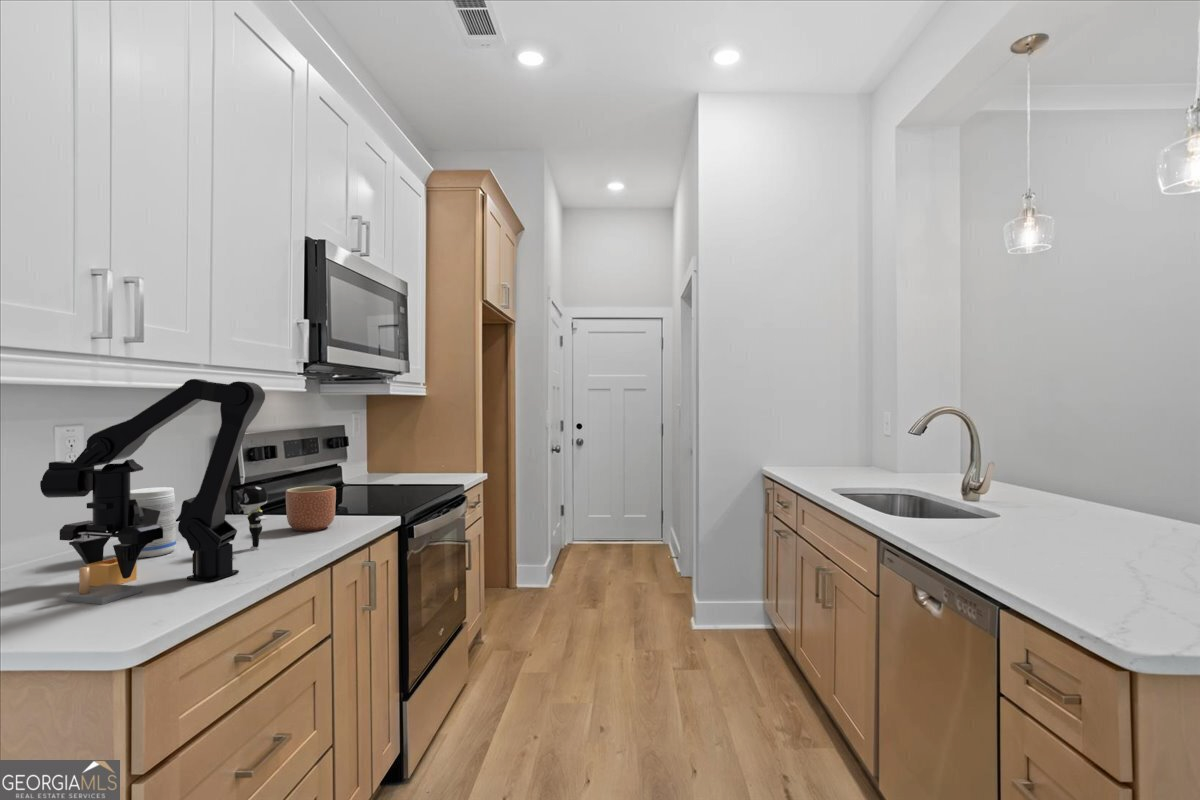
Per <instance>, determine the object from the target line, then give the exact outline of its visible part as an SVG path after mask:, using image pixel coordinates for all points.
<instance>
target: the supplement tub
mask: <svg viewBox="0 0 1200 800" xmlns="http://www.w3.org/2000/svg"><path fill="white" fill-rule="evenodd" d="M130 499H136V501H137V505H138V507H142V508H148V509H153V510H158V511H161V512H160V515H159V518H158V521H157V524H159V525H160V526H161V527H163V538H162V539H157V540H154V541H153V542H152V543H148V544H147V545H146V546H145V547H144V548H143V549H142V550H141V552H140V554H139V556H138V559H143V558H153V557H160V556H163V555H168V554H170V553H172V552H174V551H175V550H176V548H177V531H176V530H177V529H176V525H177V524H176V496H175V489H174V487H169V486H161V487H159V486H158V487H147V488H145V487H144V488H138V489H130ZM130 527H131V526H130Z"/></svg>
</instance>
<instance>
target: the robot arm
mask: <svg viewBox="0 0 1200 800" xmlns="http://www.w3.org/2000/svg"><path fill="white" fill-rule="evenodd" d="M265 400H266V392H265V391H264V389H263V388H262V386H261V385H259V384H258V383H255V382H250V381H239V380H238V381H233V382H231V383H228V384H227V383H222V382H214V381H208V380H206V379H201V378H200V379H199V378H191V379H188V380H186V381H185V382H184V383H183V384H182V385H180V387H178V388H177V389H175V390H173V391H171V392H170V393H169V394H167V395H166V396H164V397H163V398H161V399H160V400H157V402H155V403H153V404H152V405H150V406H149V407H147V408H145V409H144V410H142V411H141V412H140V413H138V414H136V415H135V416H133V417H132V418H130V419H127V420H124V421H122V422H120V423H119V422H118V423H116V424H114V425H112V426H109V427H106V428H104V429H102V430H99V431H97V432H95V433H93V434H91V435H90V436H89V437H88V438H87V439H86V445H85V446H86V447H85V448H84V450H83V451H82V452H81V453H80V454H79V455H78V456H77V457H76V459H75V460H74V461H71V462H70V461H63V460H61V461H59V460H58V461H51V462H50V461H49V462H48V469H46V471H45V472H44V473H43V475H42V478H41V480H40V483H39V484H40V487H39V488H40V491H41V493H42V495H43V496H44V497H46V498H49V499H50V498H78V497H79V498H80V497H81V498H82V497H86V496H87V495H89V493H90V492H92V501H91V502H86V509H92V520H84V521H79V522H73V523H67V524H66V523H65V524H64V525H63V526H62V527H61V528H60V529H59V541H67V542H68V544H69V546H72V548H73V549H74V550H75V551H76V552H77V554H78V555H79V556H80V557H81V559H82V561H83V562H84V564H85V565H86V564H90V563H94V562H98V561H102V560H104V552H105V551H104V548H105V545H106V544H107V543H108V542H109V541H110V539H111V538H117V541H118V542H119V544H114V545H112V547H113V550H114V554H115V557H116V558H117V561H118V565H119V568H120V572H121V574H122V577H123V578H124V579H126V578H129V577H130V576H131V573H132V571H133V568H134V566H135V563H136V561H137V560H138V559H139V558H138V556H139V554H140V552H141V550H142V549H143V548H144V547H145V546H146V545H147V544H148V543H152V542H153V541H154V540H157V539H162V538H163V527H161V526H160V525H159V524H157V521H158V518H159V515H160V512H161V511H158V510H153V509H148V508H142V507H138V505H137V501H136V499H130V490H131V473H135V472H140V471H143V470H144V467H143V466H142V465H140V464H139V463H137V462H136V460H134V459H133V458H132V459H127V458H129V457H131V456H132V455H133V454H134V453H136V451H137V450H139V448H141V447H142V446H143V444H145V441H146V440H147V439H148V438H149V436H151V435H152V434H153V433H154V432H156V431H157V430H159V429H160V428H162V427H163V426H165V425H166V424H168V423H170V422H171V421H172V420H174V419H176V418H177V417H179V416H180V415H181V414H184V412H186V411H188V410H189V409H191V408H192V407H194V406H195V405H197V404H198V403H200V402H201V401H207V402H212V403H219V404H220V406H219V408H220V409H219V410H220V417H221V418H220V419H221V420H220V422H221V423H220V426H219V427H220V428H219V431H218V433H217V437H216V439H215V442H214V445H213V447H212V451H211V455H210V457H209V460H208V464H207V467H206V470H205V472H204V475H203V479H202V481H201V484H200V488H199V491H198V492H197V494H196V495H195V496H193V497H190V498H188V499H185V500H183V501H182V503H181V509H180V514H179V515H178V517H177V518H175V520H176V522H178V525H177V531H178V533H179V534H180V536H181V537H182V538H184V539H185V540H186V543H187V544H188V547H189V549H190V551H192V575H188V576H186V580H191V581H202V582H203V581H204V582H214V581H218V580H222V579H224V578H227V577H230V576H234V575H236V574H238V573H240V569H239V570H238V569H233V562H234V561H233V559H234V558H233V553H234V552H233V543H230V542H232V541H234V540H235V538H236V536H237V534H238V529H236V527H234V526H233V525H232V524H230V522H228V521H227V520H226V512H227V505H226V504H227V502H226V492H227V489H228V486H229V483H230V479H231V477H232V474H233V471H234V468H235V464H236V462H237V459H238V456H239V452H240V449H241V447H242V444H243V440H244V437H245V435H246V431H247V429H248V427H249V426H250V424H251V423H252V422H253V420H254V419H255V418H256V416H257V415H258V413H259V412H260V411H261V408H262V406H263V404H264V403H265ZM123 459H126V460H125V461H124V462H122V463H112V462H115V461H117V460H118V461H119V460H123ZM102 465H104V466H103V467H102V468H95V466H102ZM130 526H131V527H130Z"/></svg>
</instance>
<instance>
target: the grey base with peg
mask: <svg viewBox="0 0 1200 800" xmlns="http://www.w3.org/2000/svg"><path fill="white" fill-rule="evenodd" d="M78 572H79V573H78V574H79V576H78V577H79V579H78V581H79V583H78V585H79V586H78V588H79V591H76V592H73V593H70V594H69V593H68V594H66V602H74V603H84V604H85V603H86V604H95V605H96V604H97V605H105V604H108V603H111V602H114V601H118V600H120V599H123V598H128V597H129V596H133V595H136V594H139V593H142V591H143V590H142V589H143V586H141V585H129V584H128V585H127V584H104V585H101V586H93V587H91V586H90V567H86V566H83V567H79V568H78Z"/></svg>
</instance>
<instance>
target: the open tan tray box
mask: <svg viewBox="0 0 1200 800" xmlns="http://www.w3.org/2000/svg"><path fill="white" fill-rule="evenodd" d="M137 563H138V562H137V561H136V563H135V566H134V568H133V571H132V573H131V576H130V577H129V578H126V579H124V578H123V577H122V574H121V572H120V568H119V565H118V561H117V558H116V556H115V557H111V558H106V559H103V560H102V561H98V562H94V563H90V564H86V563H85V567H90V587H97V586H101V585H104V584H119V585H123V584H125V583H128V582H129V583H130V582H132V581H136V580H137V579H138V578H137V575H138V574H137V573H138V572H137V565H138V564H137Z"/></svg>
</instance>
